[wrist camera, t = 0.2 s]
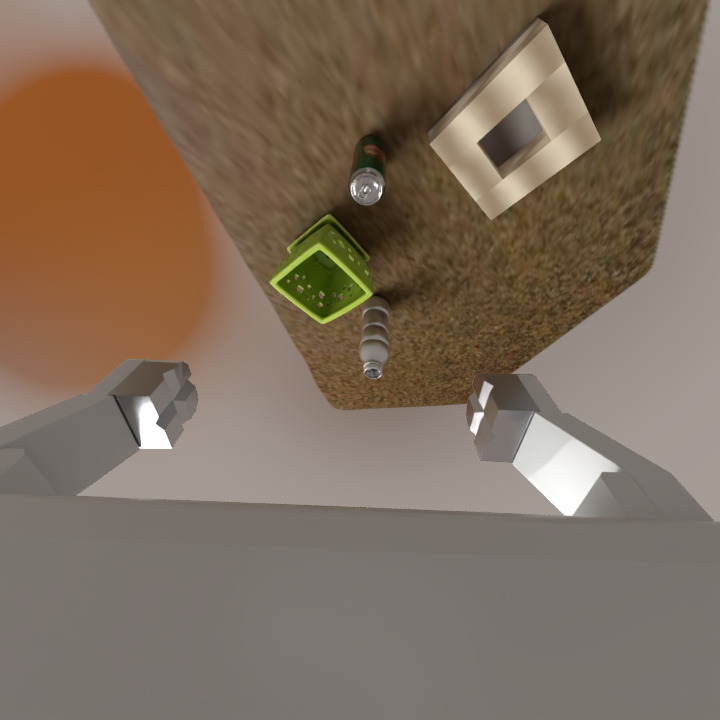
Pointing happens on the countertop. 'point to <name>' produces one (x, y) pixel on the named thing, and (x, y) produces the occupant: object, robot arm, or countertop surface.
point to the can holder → (515, 123)
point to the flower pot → (325, 271)
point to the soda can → (368, 171)
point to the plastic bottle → (374, 336)
